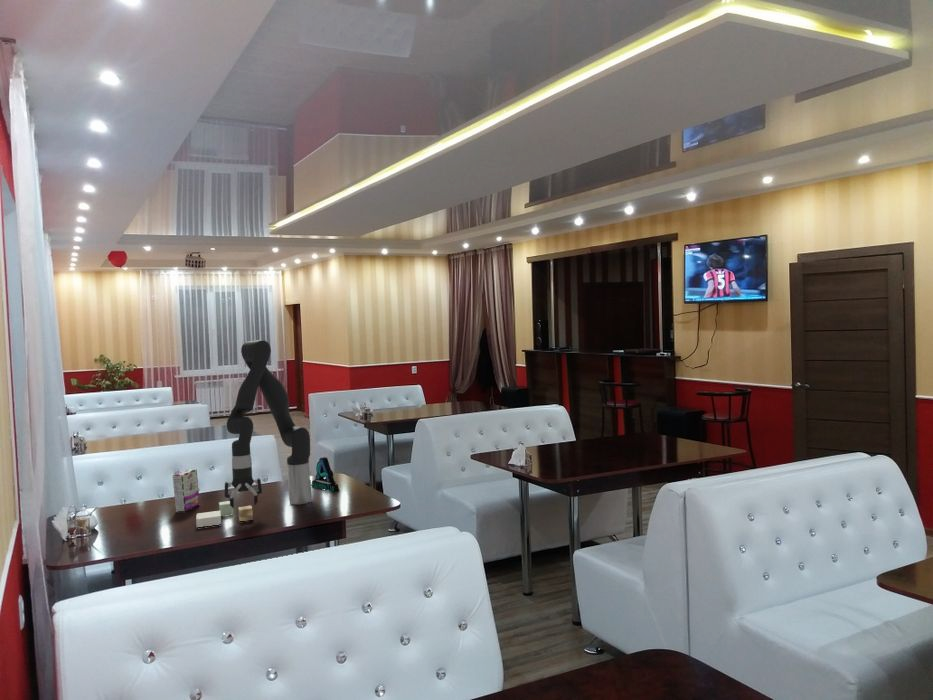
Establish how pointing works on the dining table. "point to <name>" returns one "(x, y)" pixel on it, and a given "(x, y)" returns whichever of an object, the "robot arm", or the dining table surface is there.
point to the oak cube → (245, 513)
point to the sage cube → (225, 508)
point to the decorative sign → (324, 476)
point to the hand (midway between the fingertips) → (243, 505)
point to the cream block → (208, 518)
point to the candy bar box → (186, 490)
